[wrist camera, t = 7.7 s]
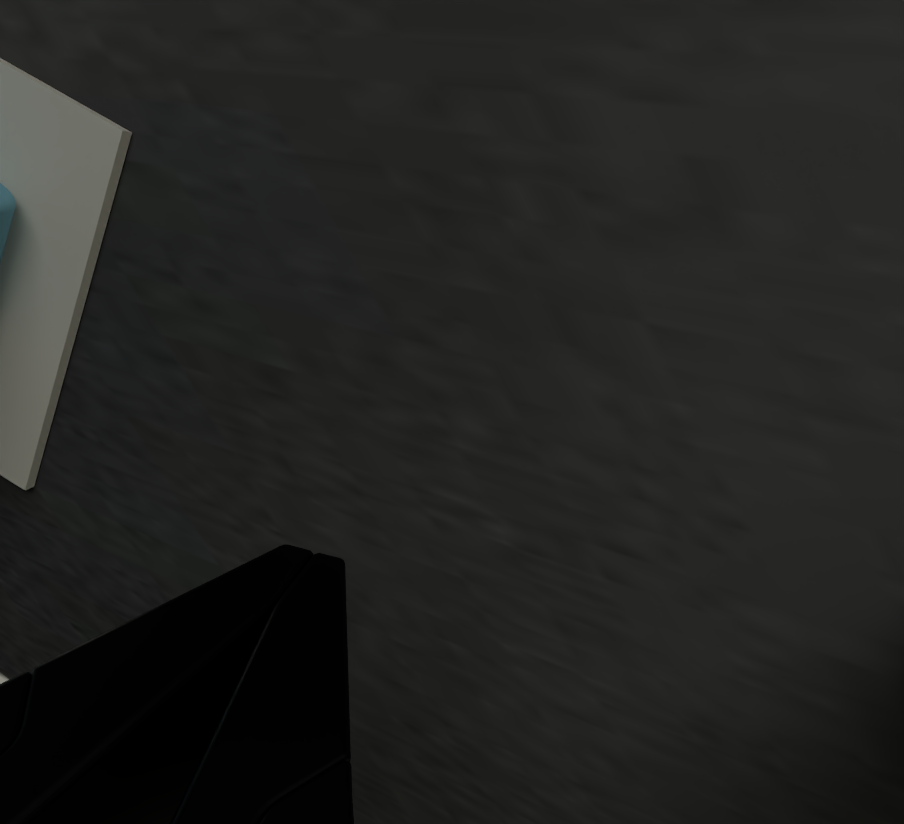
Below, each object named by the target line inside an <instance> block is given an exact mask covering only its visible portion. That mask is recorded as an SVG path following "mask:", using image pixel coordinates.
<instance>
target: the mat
mask: <svg viewBox="0 0 904 824" xmlns="http://www.w3.org/2000/svg"><path fill="white" fill-rule="evenodd" d="M131 135H132V132H130V131H128V130H126V129H125V128H123V127H121V126H119V125H118V124H116V123H114V122H112V121H111V120H109V119H107V118H105V117H104V116H102V115H100V114H98V113H96V112H95V111H93V110H91V109H89V108H88V107H86V106H84V105H82V104H81V103H79V102H77V101H75V100H73V99H72V98H70V97H68V96H66V95H65V94H63V93H61V92H59V91H58V90H56V89H54V88H52V87H51V86H49V85H47V84H45V83H43V82H42V81H40V80H38V79H36V78H35V77H33V76H31V75H29V74H28V73H26V72H24V71H22V70H20V69H19V68H17V67H15V66H13V65H12V64H10V63H8V62H6V61H5V60H3V59H1V58H0V183H1V184H2V185H3V186H5V187H6V188H7V189H8V190H9V191H10V192H11V194H12V195H13V197H14V199H15V202H16V206H15V210H14V214H13V218H12V221H11V225H10V229H9V232H8V236H7V239H6V243H5V247H4V250H3V254H2V258H1V261H0V475H1V476H3V477H4V478H6V479H8V480H9V481H11V482H12V483H14V484H16V485H17V486H19V487H20V488H22V489H23V490H27V489H30V488H32V487H34V485H35V481H36V478H37V474H38V471H39V467H40V463H41V460H42V456H43V453H44V449H45V445H46V442H47V438H48V435H49V431H50V427H51V424H52V420H53V416H54V413H55V409H56V406H57V402H58V398H59V395H60V391H61V388H62V384H63V380H64V377H65V373H66V370H67V366H68V362H69V359H70V355H71V352H72V348H73V344H74V341H75V337H76V333H77V330H78V326H79V323H80V319H81V315H82V312H83V308H84V305H85V301H86V297H87V294H88V290H89V287H90V283H91V279H92V276H93V272H94V268H95V265H96V261H97V258H98V254H99V250H100V247H101V243H102V240H103V236H104V232H105V229H106V225H107V222H108V218H109V214H110V211H111V207H112V204H113V200H114V196H115V193H116V189H117V185H118V182H119V178H120V175H121V171H122V167H123V164H124V160H125V157H126V153H127V149H128V146H129V142H130V139H131Z"/></svg>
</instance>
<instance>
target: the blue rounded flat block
mask: <svg viewBox="0 0 904 824" xmlns="http://www.w3.org/2000/svg"><path fill="white" fill-rule="evenodd" d="M15 206H16V202H15V199H14V197H13V195H12V194H11V192H10V191H9V190H8V189H7V188H6V187H5V186H3V185H2V184H1V183H0V261H1V258H2V254H3V250H4V247H5V243H6V239H7V236H8V232H9V229H10V225H11V221H12V218H13V214H14V210H15Z"/></svg>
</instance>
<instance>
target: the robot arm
mask: <svg viewBox="0 0 904 824" xmlns="http://www.w3.org/2000/svg"><path fill="white" fill-rule="evenodd" d="M350 759H351V752H350V718H349V683H348V649H347V614H346V580H345V562H344V560H343V559H341V558H337V557H333V556H329V555H326V554H322V553H317V554H314V555H313V553H312V552H311V551H310V550H306V549H303V548H299V547H295V546H291V545H282V546H279V547H277V548H275V549H273V550H271V551H269V552H267V553H265V554H263V555H261V556H259V557H257V558H255V559H253V560H251V561H249V562H247V563H245V564H243V565H241V566H239V567H237V568H235V569H233V570H231V571H229V572H227V573H225V574H223V575H221V576H219V577H217V578H215V579H213V580H211V581H209V582H207V583H204V584H202V585H200V586H198V587H196V588H194V589H192V590H190V591H188V592H186V593H184V594H182V595H180V596H178V597H176V598H174V599H172V600H170V601H168V602H166V603H164V604H162V605H160V606H158V607H156V608H154V609H152V610H150V611H148V612H146V613H144V614H142V615H140V616H138V617H136V618H134V619H132V620H130V621H128V622H126V623H124V624H122V625H120V626H118V627H115V628H113V629H111V630H109V631H107V632H105V633H103V634H101V635H99V636H97V637H95V638H93V639H91V640H89V641H87V642H85V643H83V644H81V645H79V646H77V647H75V648H73V649H71V650H69V651H67V652H65V653H63V654H61V655H59V656H57V657H55V658H53V659H51V660H49V661H47V662H45V663H43V664H41V665H39V666H37V667H35V668H34V669H33V671H32V675H31V673H30V672H24V673H22V674H20V675H18V676H16V677H14V678H12V679H10V680H8V681H6V682H4V683H2V684H0V824H354V818H353V803H352V775H351V763H350Z"/></svg>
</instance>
